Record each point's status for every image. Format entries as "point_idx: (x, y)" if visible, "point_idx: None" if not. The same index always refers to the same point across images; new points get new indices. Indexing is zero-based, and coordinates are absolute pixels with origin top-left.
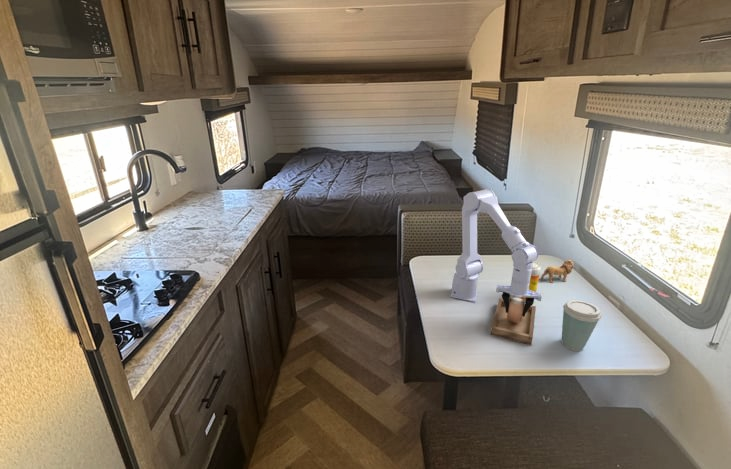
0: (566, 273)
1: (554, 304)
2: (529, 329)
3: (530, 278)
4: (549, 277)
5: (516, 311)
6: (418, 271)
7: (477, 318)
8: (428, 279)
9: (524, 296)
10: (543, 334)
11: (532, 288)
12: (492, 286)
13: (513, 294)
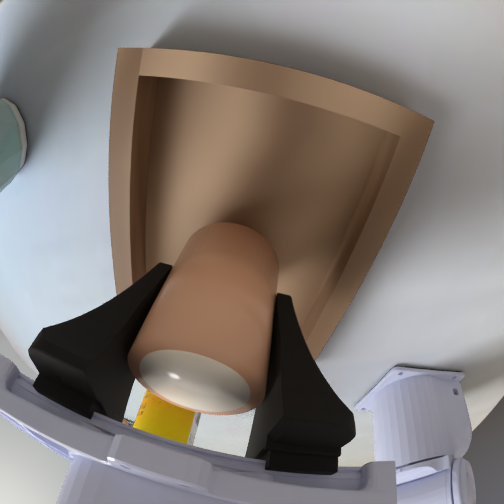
0: None
1: None
2: (138, 161)
3: None
4: None
5: (208, 285)
6: (472, 428)
7: (433, 264)
8: (470, 415)
9: (85, 437)
10: (89, 175)
11: (144, 426)
12: None
13: (226, 482)
